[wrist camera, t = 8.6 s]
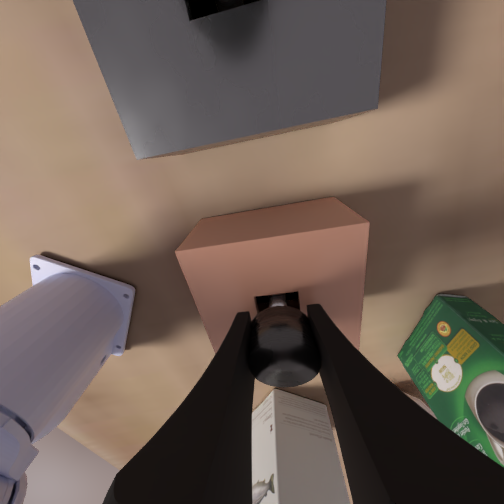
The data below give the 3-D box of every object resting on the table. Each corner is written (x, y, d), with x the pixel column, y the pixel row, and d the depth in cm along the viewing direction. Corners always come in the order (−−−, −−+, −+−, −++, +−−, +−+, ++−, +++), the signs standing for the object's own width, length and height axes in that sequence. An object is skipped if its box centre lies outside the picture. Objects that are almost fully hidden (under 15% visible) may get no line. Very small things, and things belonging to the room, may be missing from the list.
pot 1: (332, 122, 11) (377, 108, 7) (180, 154, 12) (136, 159, 8) (331, -167, 7) (438, -634, 3) (107, -83, 8) (-62, -335, 4)
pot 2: (333, 302, 17) (358, 356, 13) (230, 313, 18) (220, 367, 14) (333, 196, 13) (369, 222, 9) (201, 218, 14) (174, 251, 10)
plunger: (295, 282, 16) (322, 385, 9) (257, 287, 16) (255, 389, 9) (292, 248, 14) (319, 338, 8) (250, 254, 15) (242, 345, 8)
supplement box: (273, 385, 23) (284, 608, 12) (327, 403, 25) (383, 620, 13) (246, 414, 27) (234, 611, 15) (295, 429, 28) (318, 621, 17)
